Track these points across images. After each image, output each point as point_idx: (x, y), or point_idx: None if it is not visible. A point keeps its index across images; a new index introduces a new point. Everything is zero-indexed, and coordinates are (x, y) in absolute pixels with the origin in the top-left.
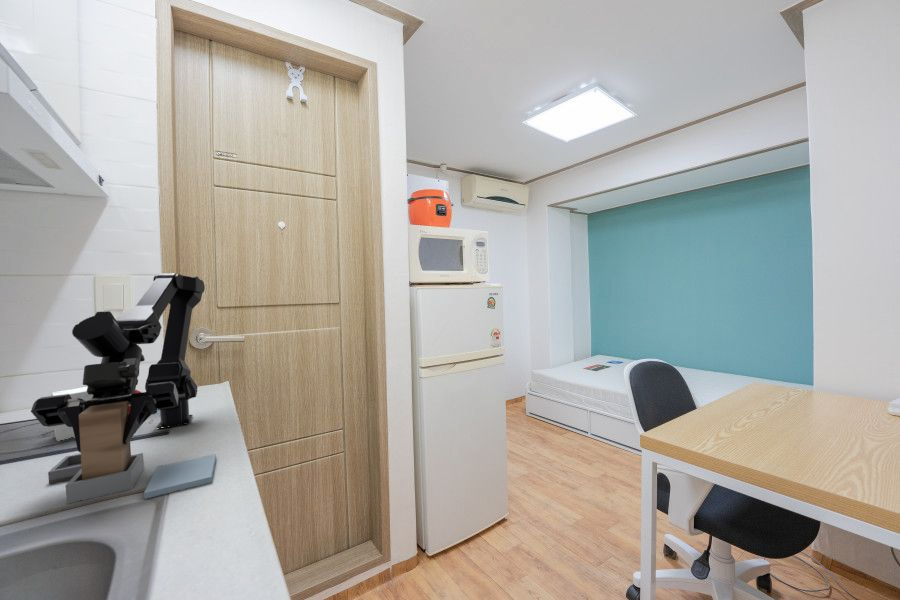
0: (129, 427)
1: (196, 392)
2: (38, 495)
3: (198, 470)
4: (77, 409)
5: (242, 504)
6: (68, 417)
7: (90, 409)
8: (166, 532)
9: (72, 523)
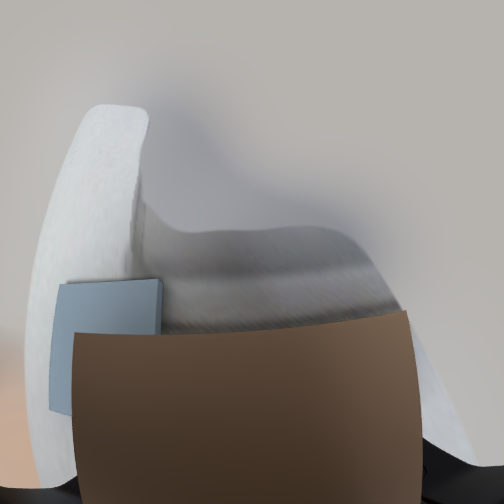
0: None
1: None
2: None
3: (72, 332)
4: (479, 501)
5: (59, 199)
6: (487, 467)
7: (376, 490)
8: (132, 170)
9: (271, 248)
